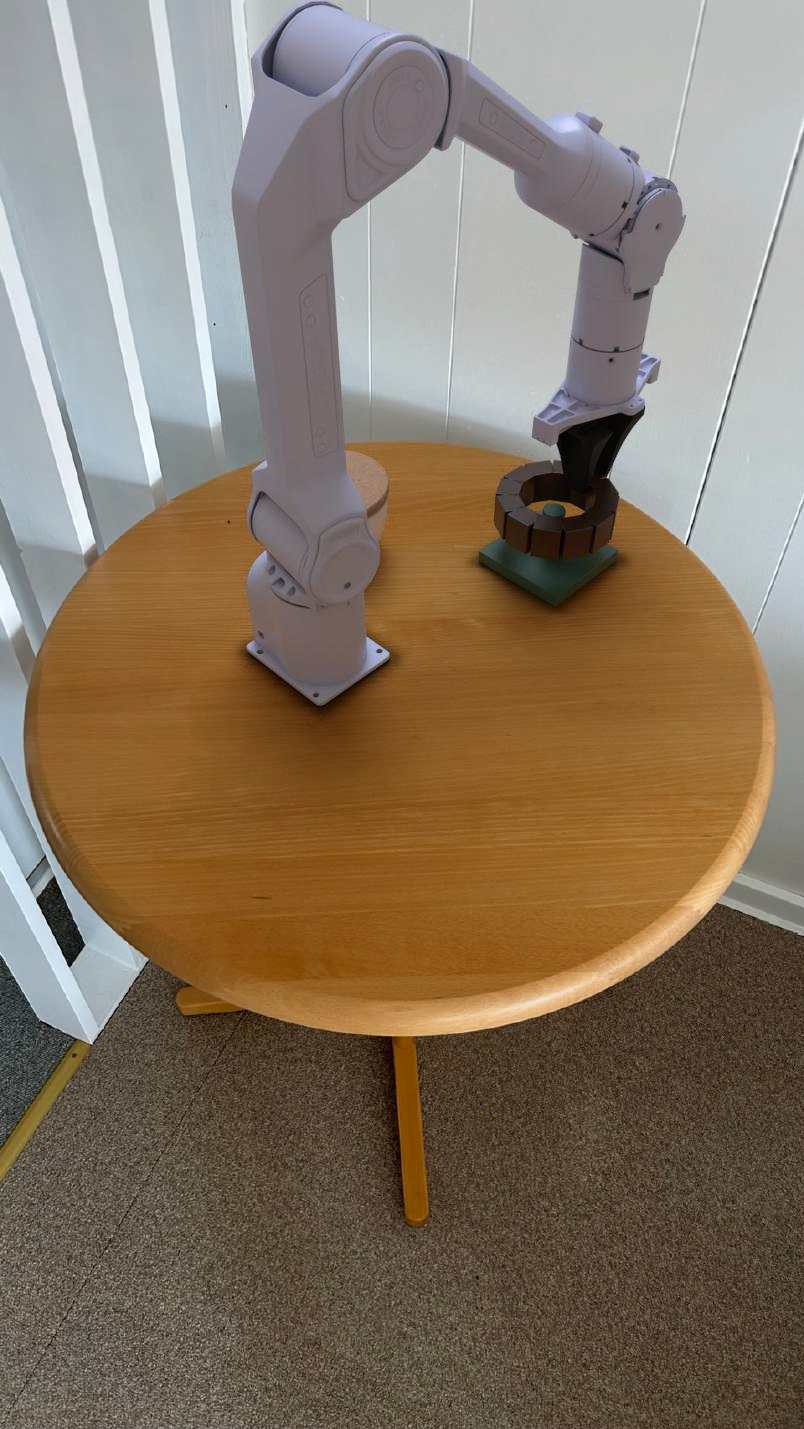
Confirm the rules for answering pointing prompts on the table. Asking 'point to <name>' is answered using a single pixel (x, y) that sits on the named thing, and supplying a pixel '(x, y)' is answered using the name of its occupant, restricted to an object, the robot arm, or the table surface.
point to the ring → (550, 532)
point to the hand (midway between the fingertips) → (585, 482)
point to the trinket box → (370, 489)
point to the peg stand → (546, 566)
